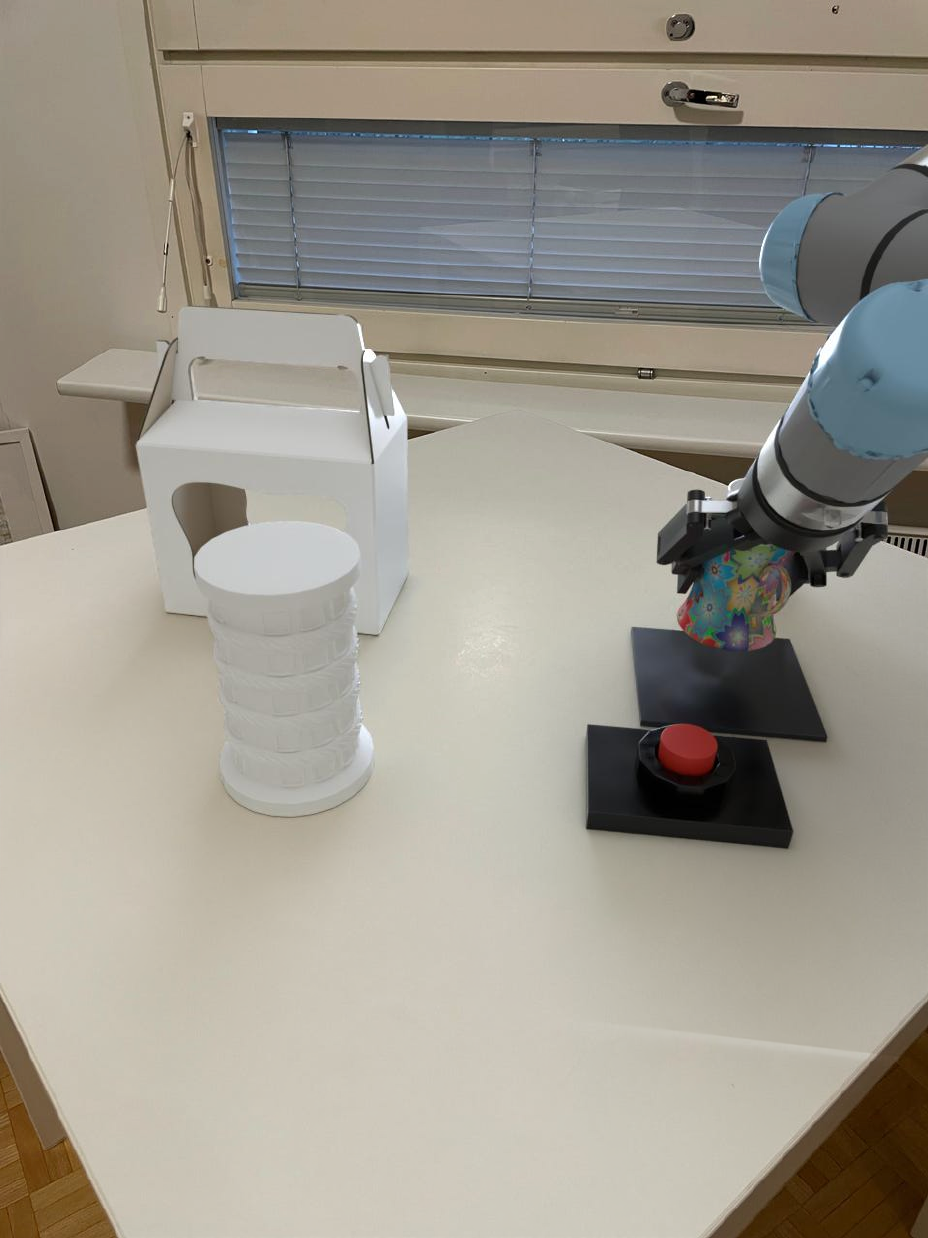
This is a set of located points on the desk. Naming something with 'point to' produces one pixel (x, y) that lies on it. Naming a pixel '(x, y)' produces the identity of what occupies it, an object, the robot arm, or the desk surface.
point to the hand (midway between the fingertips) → (730, 582)
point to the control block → (683, 790)
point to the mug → (737, 599)
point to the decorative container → (287, 665)
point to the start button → (687, 750)
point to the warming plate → (723, 687)
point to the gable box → (273, 449)
